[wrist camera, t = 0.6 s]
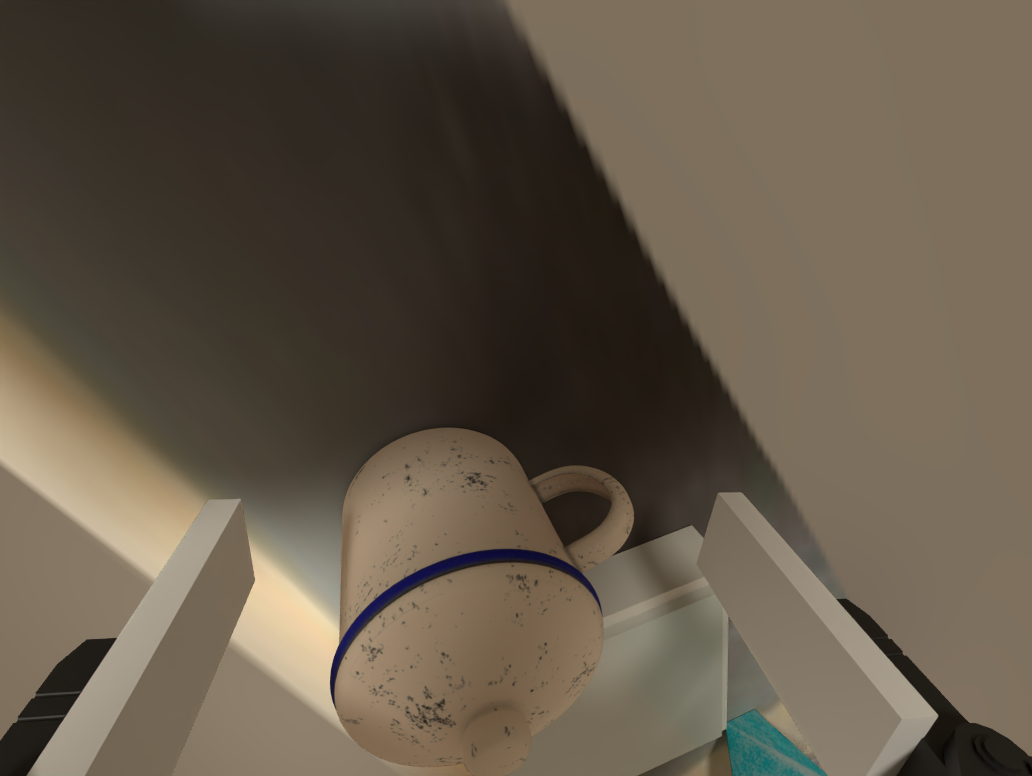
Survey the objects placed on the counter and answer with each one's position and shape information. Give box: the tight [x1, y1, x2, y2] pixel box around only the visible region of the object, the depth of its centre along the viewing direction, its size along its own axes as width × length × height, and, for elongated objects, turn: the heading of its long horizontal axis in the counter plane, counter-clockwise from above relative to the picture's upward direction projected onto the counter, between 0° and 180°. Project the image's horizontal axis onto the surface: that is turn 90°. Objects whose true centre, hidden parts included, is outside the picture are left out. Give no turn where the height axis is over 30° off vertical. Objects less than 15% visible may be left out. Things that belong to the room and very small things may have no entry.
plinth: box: [505, 525, 728, 776], centre depth 31 cm, size 16×16×4 cm
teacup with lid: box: [330, 428, 634, 776], centre depth 19 cm, size 12×9×12 cm
